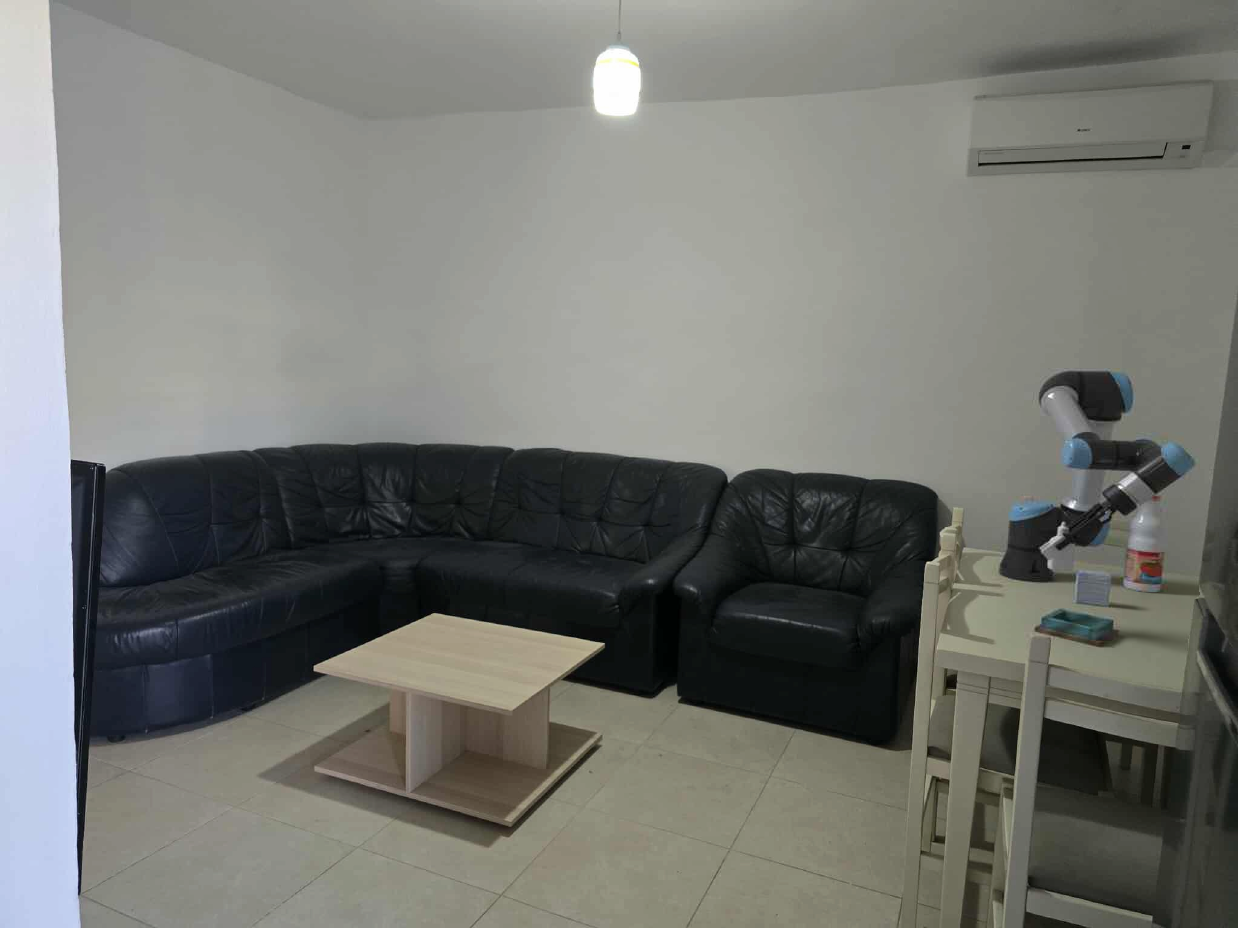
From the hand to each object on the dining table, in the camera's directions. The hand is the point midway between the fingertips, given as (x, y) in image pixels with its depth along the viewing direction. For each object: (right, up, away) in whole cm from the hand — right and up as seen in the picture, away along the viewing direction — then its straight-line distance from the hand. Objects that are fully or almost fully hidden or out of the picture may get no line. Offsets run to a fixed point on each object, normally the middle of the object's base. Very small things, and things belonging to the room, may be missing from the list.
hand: (1044, 554), depth 200 cm
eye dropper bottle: (+3, -4, -1) cm, 5 cm away
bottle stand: (+4, -18, -6) cm, 20 cm away
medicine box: (+24, -16, +20) cm, 35 cm away
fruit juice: (+49, -15, +37) cm, 63 cm away
